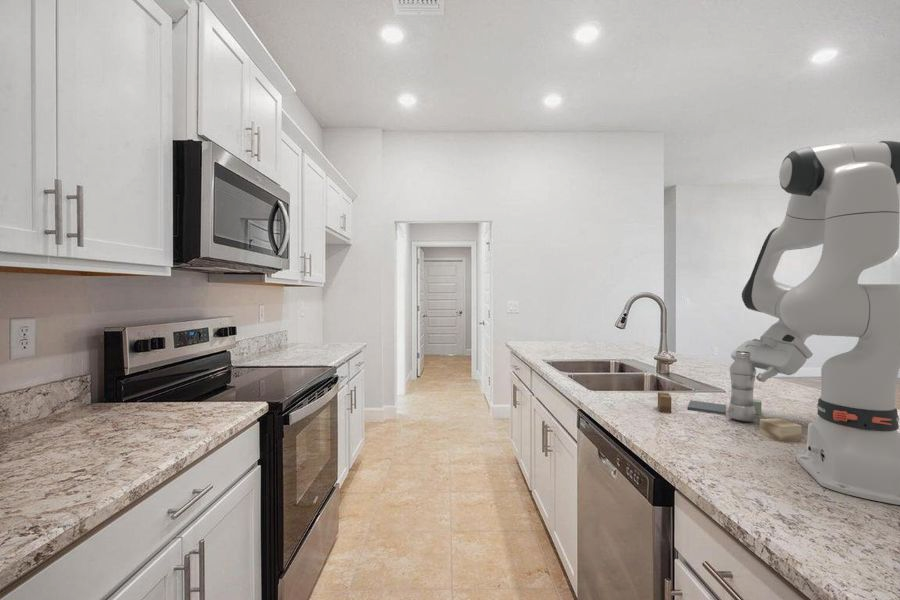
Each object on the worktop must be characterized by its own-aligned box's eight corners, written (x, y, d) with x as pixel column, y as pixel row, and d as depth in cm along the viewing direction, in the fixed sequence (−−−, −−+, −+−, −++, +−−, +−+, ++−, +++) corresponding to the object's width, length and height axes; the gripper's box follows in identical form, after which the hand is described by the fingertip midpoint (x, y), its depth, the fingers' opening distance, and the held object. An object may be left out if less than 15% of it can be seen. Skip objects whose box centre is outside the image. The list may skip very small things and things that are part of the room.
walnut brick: (671, 413, 128) (671, 397, 128) (660, 412, 129) (660, 396, 129) (668, 408, 134) (668, 392, 134) (657, 407, 135) (657, 392, 135)
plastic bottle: (754, 419, 122) (755, 351, 122) (756, 425, 116) (757, 354, 116) (727, 415, 126) (729, 349, 125) (728, 421, 120) (730, 352, 119)
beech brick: (801, 441, 105) (801, 425, 105) (780, 442, 104) (781, 426, 104) (779, 433, 111) (779, 418, 111) (759, 434, 110) (759, 419, 110)
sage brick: (761, 415, 126) (761, 402, 126) (745, 413, 129) (745, 400, 129) (760, 412, 130) (760, 399, 130) (744, 410, 132) (745, 397, 132)
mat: (725, 414, 127) (725, 412, 127) (687, 409, 132) (687, 406, 132) (725, 407, 135) (726, 404, 135) (690, 402, 140) (690, 400, 140)
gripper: (744, 331, 131) (714, 362, 131) (803, 339, 111) (767, 376, 111) (758, 345, 132) (727, 376, 131) (819, 355, 111) (783, 392, 111)
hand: (746, 376), depth 121 cm, fingers open, 8 cm apart
